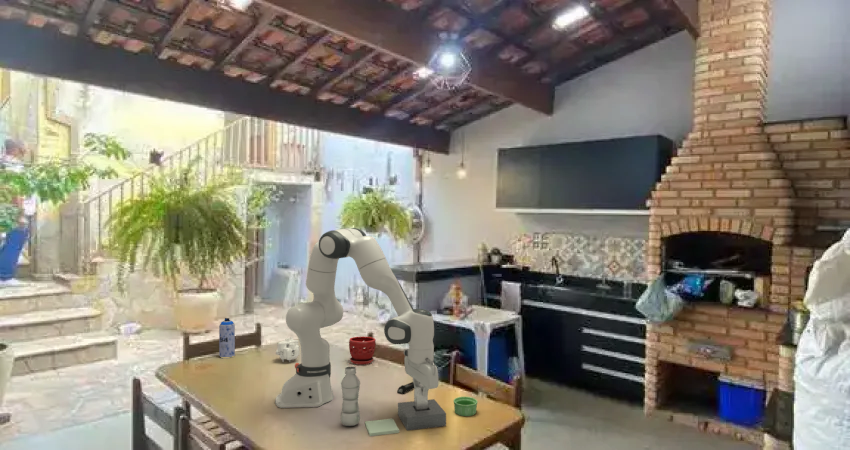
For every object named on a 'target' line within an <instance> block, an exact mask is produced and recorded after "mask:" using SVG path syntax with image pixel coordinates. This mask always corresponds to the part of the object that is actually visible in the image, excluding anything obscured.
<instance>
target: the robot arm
mask: <svg viewBox="0 0 850 450" xmlns="http://www.w3.org/2000/svg"><path fill="white" fill-rule="evenodd" d="M343 258H352V259H353V261H354V262H355V264H356V266H357V269H358V272H359V275H360V278H361V279H362V280H363V282H364V284H365V285H366V286H367V287H369V288H371V289H375V290H378V291H380V292H382V293H383V294H385V295H386V296H387V297H388V299H389V301H390V303H391V305H392V307H393V309H394V311H395V312H396V315H397V316H395V317H392V318H391V319H390V320H388V321H387V322H386V323H385V325H384V327H383V332H384V336H385V339H386V340H387V341H388V342H389V343H390V344H392V345H405V344H408V348H405V349H404V350H403V356H404V370H405V374H406V375H408V376H409V377H410V378H412V382H413V383H414V384H419V382H420V383H421V384H423V391H422V396H424V397H426V396H428V397H429V391H430V390H433V389H437V388H438V387H439V371H438V367H437V365H436V364H435V362H434V357H435V355H434V353H435V352H434V350H435V349H434V348H435V346H434V342H433V341H434V336H435V323H434V316H433V313H431V312H430V311H429V310H427V309H423V308H413V306H412V304H411V302H410V301H409V298H408V296H407V295H406V293H405V290H404V289H403V287H402V285H401V284H400V282H399V280H398V279H397V277H396V275H395V273H394V272H393V270H392V269H391V267H390V264H389V262H388V260H387V257H386V256H385V253H384V251H383V250H382V248H381V245H380V244H379V243H378V241H377V240H376V238H374V236H371V235H367V234H366V233H365V232H364V231H363V230H362V229H360V228H356V227H351V228H349V227H347V228H339V229H335V230H333V229H332V230H329V231H326V232H324V233H323V234H322V235H321V236H320V238H319V240H318V241H317V242H316V243H315V244H314V245H313V247H312V250H311V253H310V256H309V261H308V266H307V273H306V281H305V287H306V288H307V291H308V290H309V291H308V292H311V293H312V295H313V300H312V301H309V302H302V303H298V304H296V305H294V306H292V307H290V308H289V309H288V310H287V312H286V315H285V322H286V323H285V324H286V326H287V327H288V329H289V330H290V331H291V332H293V333H294V334H295V335H296V336H297V338H298V339H297V340H298V342H299V346H300V357H301V361H300V362H301V363H299V362H296V363H295V364H294V369H295V374H294V375H292V377H290V378H288V380H286V381H285V382H284V383H283V386H282V388H281V391H280V393H278V394H277V395H276V396H275V403H274V404H275V405H276V407H278V408H281V409H283V408H284V409H286V408H287V409H288V408H289V409H291V408H293V409H294V408H317V407H321V406H322V405H323V404H326V403H328V402H331V401H332V400H333V399H334V397H335V396H334V393H333V389H332V383H331V374H332V365H331V361H330V355H331V354H330V349H331V348H330V346H331V345H330V342H329V341H327V340H326V338H323V337H322V336H321V333H320V331H321V330H320V329H322V328H326V327H331V326H333V325H335V324H337V323H339V322H341V321H342V319H343V317H344V308H343V305H342V302H340V301H339V300H338V299H337V297H336V293H335V283H336V276H337V270H338V262H339V260H340V259H343Z"/></svg>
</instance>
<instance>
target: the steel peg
mask: <svg viewBox="0 0 850 450" xmlns="http://www.w3.org/2000/svg"><path fill="white" fill-rule="evenodd" d="M413 390H414V391H413V393H414V394H413V401H414V409H415V410H416V411H424V410H428V400H429V395H428V396H426V397H424V396H422V391H423V384H421V383H420V384H414V389H413Z"/></svg>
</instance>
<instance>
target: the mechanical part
mask: <svg viewBox="0 0 850 450" xmlns="http://www.w3.org/2000/svg"><path fill="white" fill-rule="evenodd" d="M300 349H301V345H299V339H294V337H293V336H290V337H287V338H286V337H285V339H284V340H282V341H279V342H277V348H276V350H275V355H277V356H279V359H281V361H282V363H284V362H285V360H287V361H288V362H289V363H291V361H294V360H296V359H297V358H299V356H300Z"/></svg>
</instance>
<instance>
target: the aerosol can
mask: <svg viewBox="0 0 850 450" xmlns="http://www.w3.org/2000/svg"><path fill="white" fill-rule="evenodd" d="M235 328H236V325H235V322H234V321H232V320H231V319H230V317H225V318H224V319H223V321H221V322H220V323H219V328H218V330H219V331H218V332H219V333H218V335H219V336H218V337H219V338H218V339H219V344H218V345H219V346H218V347H219V349H218V350H219V353H218V355H219V356H220V357H232V356H235V357H236V352H235V351H236V347H235V346H236V344H235V342H236V338H235V337H236V336H235V335H236V334H235V333H236V329H235ZM219 356H218V357H219ZM232 358H233V357H232Z"/></svg>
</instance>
